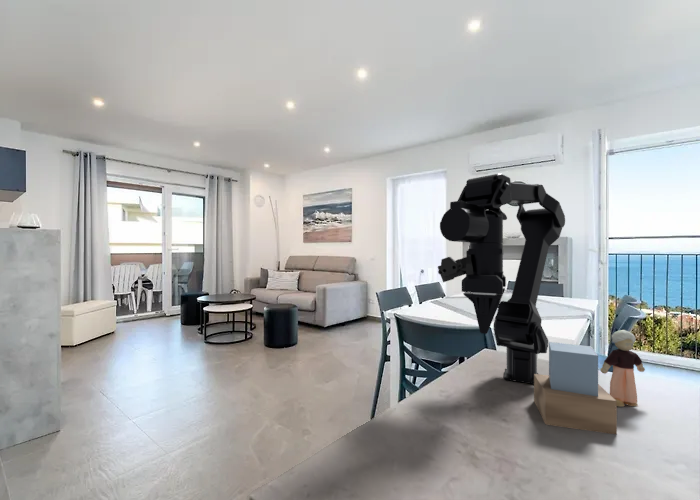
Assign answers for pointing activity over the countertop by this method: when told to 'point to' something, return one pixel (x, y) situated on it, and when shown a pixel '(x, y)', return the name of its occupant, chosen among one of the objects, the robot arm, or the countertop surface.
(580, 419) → the tan flat block
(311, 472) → the countertop surface
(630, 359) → the grandmother figurine
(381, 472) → the countertop surface
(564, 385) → the slate-blue cube
